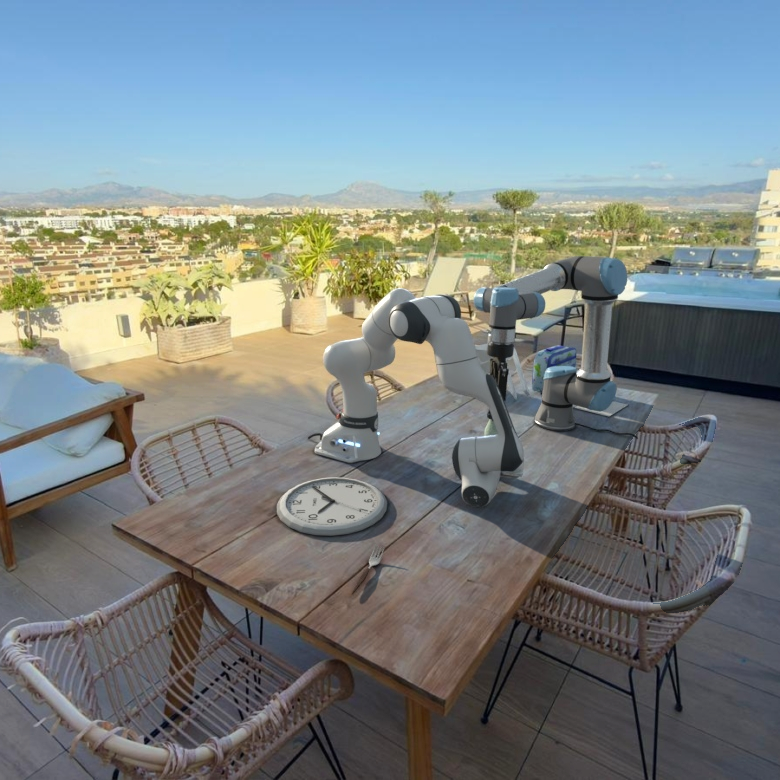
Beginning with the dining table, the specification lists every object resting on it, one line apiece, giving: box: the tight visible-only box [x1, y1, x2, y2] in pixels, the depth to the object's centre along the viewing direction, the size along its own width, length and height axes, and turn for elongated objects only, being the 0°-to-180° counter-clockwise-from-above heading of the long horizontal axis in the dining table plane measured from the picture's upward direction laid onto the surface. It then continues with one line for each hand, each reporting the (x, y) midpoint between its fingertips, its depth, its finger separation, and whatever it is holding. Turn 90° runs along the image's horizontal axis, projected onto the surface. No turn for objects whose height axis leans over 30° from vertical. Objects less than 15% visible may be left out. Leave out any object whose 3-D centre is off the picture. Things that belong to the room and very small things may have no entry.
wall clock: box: [276, 476, 388, 537], centre depth 142 cm, size 30×2×30 cm
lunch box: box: [531, 345, 577, 393], centre depth 245 cm, size 26×11×21 cm, turn 134°
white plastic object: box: [475, 342, 531, 400], centre depth 245 cm, size 37×45×31 cm
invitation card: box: [573, 400, 629, 418], centre depth 226 cm, size 21×1×15 cm
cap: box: [486, 410, 492, 420], centre depth 158 cm, size 5×5×2 cm
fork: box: [351, 545, 385, 596], centre depth 114 cm, size 3×16×2 cm, turn 160°
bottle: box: [483, 418, 498, 436], centre depth 161 cm, size 6×6×19 cm
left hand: (492, 453), depth 162 cm, fingers closed on bottle, 5 cm apart
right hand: (494, 417), depth 158 cm, fingers closed on cap, 4 cm apart
